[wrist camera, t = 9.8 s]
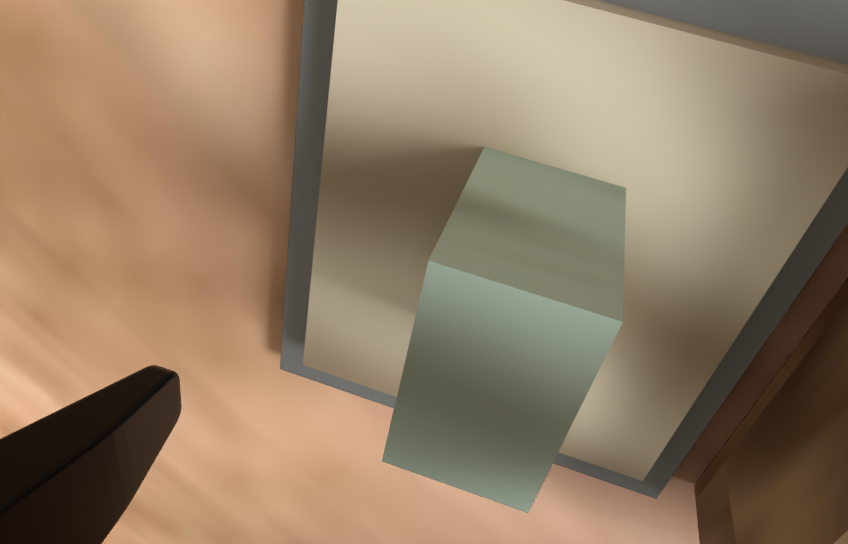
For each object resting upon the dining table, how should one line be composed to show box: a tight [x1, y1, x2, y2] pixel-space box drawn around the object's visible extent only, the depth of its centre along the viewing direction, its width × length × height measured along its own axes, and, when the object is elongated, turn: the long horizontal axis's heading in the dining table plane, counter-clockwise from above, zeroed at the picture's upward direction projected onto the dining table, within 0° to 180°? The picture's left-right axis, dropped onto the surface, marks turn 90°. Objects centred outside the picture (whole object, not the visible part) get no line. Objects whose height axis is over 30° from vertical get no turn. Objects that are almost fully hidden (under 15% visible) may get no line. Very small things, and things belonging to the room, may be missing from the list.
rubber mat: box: [280, 0, 848, 498], centre depth 15 cm, size 14×12×1 cm
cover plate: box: [303, 0, 848, 513], centre depth 13 cm, size 11×10×5 cm
